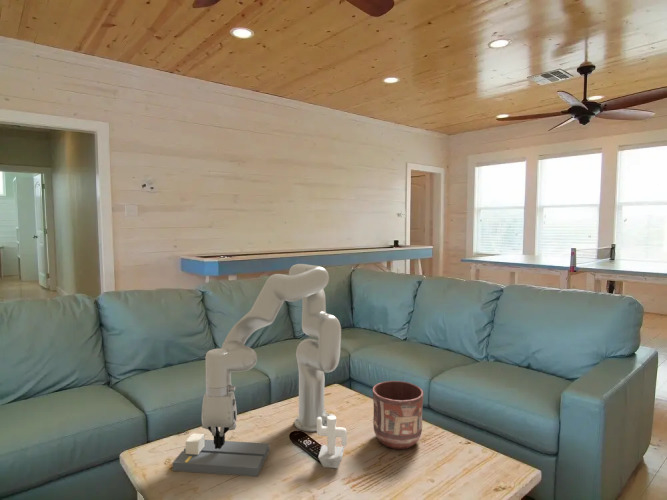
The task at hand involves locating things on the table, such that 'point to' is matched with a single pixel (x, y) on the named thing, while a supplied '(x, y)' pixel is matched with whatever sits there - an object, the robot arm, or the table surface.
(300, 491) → the table surface
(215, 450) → the fader board
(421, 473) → the table surface
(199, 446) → the fader knob
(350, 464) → the table surface
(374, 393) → the pottery
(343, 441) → the figurine
